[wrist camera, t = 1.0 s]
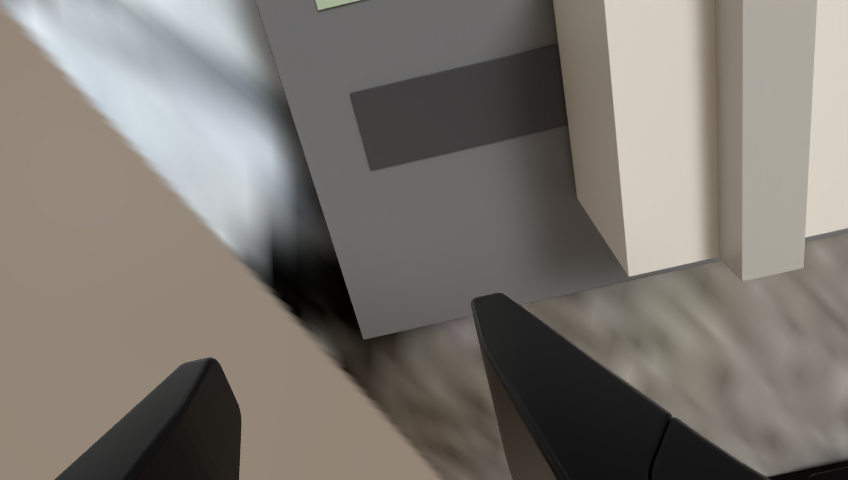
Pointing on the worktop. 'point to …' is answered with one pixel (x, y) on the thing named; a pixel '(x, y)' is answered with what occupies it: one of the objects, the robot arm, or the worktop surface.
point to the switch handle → (708, 127)
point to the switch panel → (440, 153)
